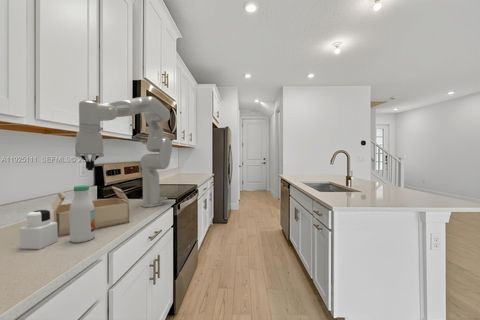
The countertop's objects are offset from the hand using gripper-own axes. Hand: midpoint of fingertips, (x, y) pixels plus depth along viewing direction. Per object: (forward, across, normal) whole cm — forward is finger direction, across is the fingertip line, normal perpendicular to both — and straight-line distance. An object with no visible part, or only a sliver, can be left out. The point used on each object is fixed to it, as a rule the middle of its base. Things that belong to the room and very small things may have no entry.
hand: (90, 170), depth 101 cm
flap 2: (+15, -14, 0) cm, 20 cm away
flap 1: (+15, +13, 0) cm, 20 cm away
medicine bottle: (+25, +17, +15) cm, 34 cm away
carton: (+24, -1, 0) cm, 25 cm away
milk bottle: (+25, +5, +19) cm, 32 cm away
